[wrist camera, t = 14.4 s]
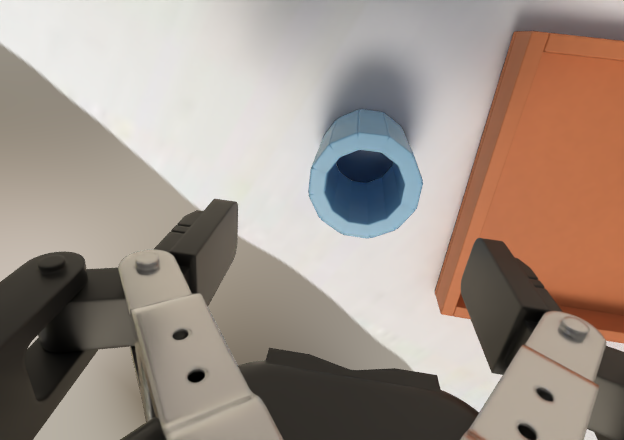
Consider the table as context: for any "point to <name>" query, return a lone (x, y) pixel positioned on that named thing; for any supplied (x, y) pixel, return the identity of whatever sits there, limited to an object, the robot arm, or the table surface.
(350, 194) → the blue hollow tube
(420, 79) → the table surface
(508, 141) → the tray
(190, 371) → the robot arm
